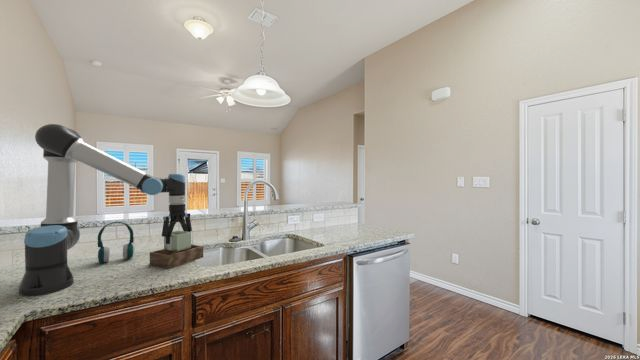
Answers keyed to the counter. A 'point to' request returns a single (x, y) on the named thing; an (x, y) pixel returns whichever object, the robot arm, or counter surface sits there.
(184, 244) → the small crate
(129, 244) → the headphones
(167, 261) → the big crate
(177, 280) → the counter surface
